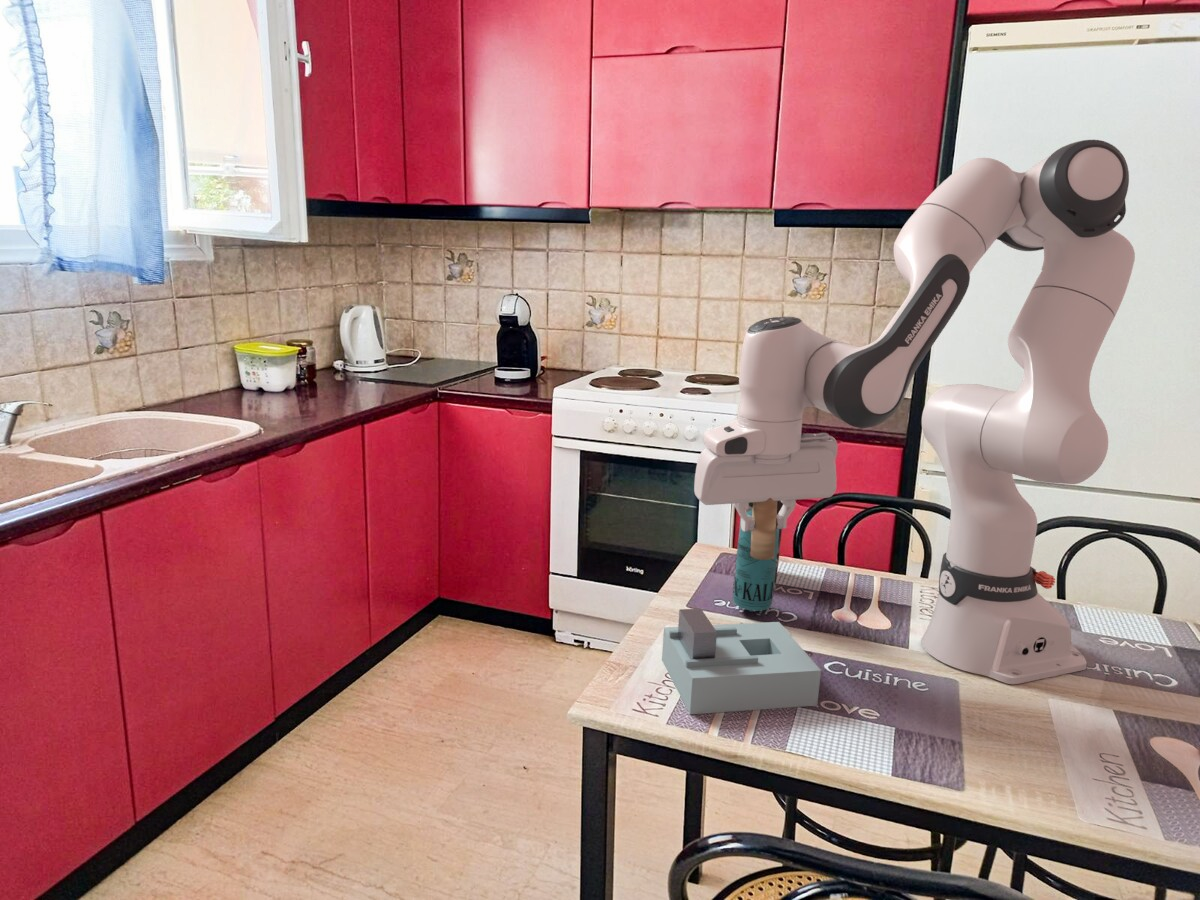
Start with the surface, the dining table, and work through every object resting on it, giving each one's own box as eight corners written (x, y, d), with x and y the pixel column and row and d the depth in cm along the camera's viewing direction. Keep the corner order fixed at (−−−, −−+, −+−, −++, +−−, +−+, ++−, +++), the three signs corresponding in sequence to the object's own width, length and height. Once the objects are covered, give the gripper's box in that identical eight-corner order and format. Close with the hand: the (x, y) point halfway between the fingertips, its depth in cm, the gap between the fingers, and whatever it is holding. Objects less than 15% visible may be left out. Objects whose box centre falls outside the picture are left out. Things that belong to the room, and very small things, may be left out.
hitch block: (775, 653, 122) (779, 616, 121) (817, 705, 109) (821, 664, 107) (661, 660, 119) (664, 622, 118) (689, 714, 106) (692, 672, 104)
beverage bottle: (742, 599, 140) (752, 483, 135) (779, 610, 136) (791, 492, 132) (723, 612, 135) (733, 492, 130) (761, 624, 131) (773, 501, 126)
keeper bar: (698, 635, 115) (700, 608, 114) (714, 660, 108) (717, 632, 107) (677, 636, 115) (679, 609, 114) (692, 661, 108) (694, 633, 107)
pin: (769, 550, 124) (772, 485, 121) (777, 559, 121) (781, 492, 118) (747, 551, 123) (750, 486, 121) (755, 560, 120) (758, 493, 118)
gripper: (828, 427, 122) (821, 517, 126) (692, 433, 119) (689, 525, 122) (848, 437, 116) (840, 532, 120) (706, 444, 113) (702, 541, 116)
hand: (763, 529), depth 121 cm, fingers closed on pin, 3 cm apart
